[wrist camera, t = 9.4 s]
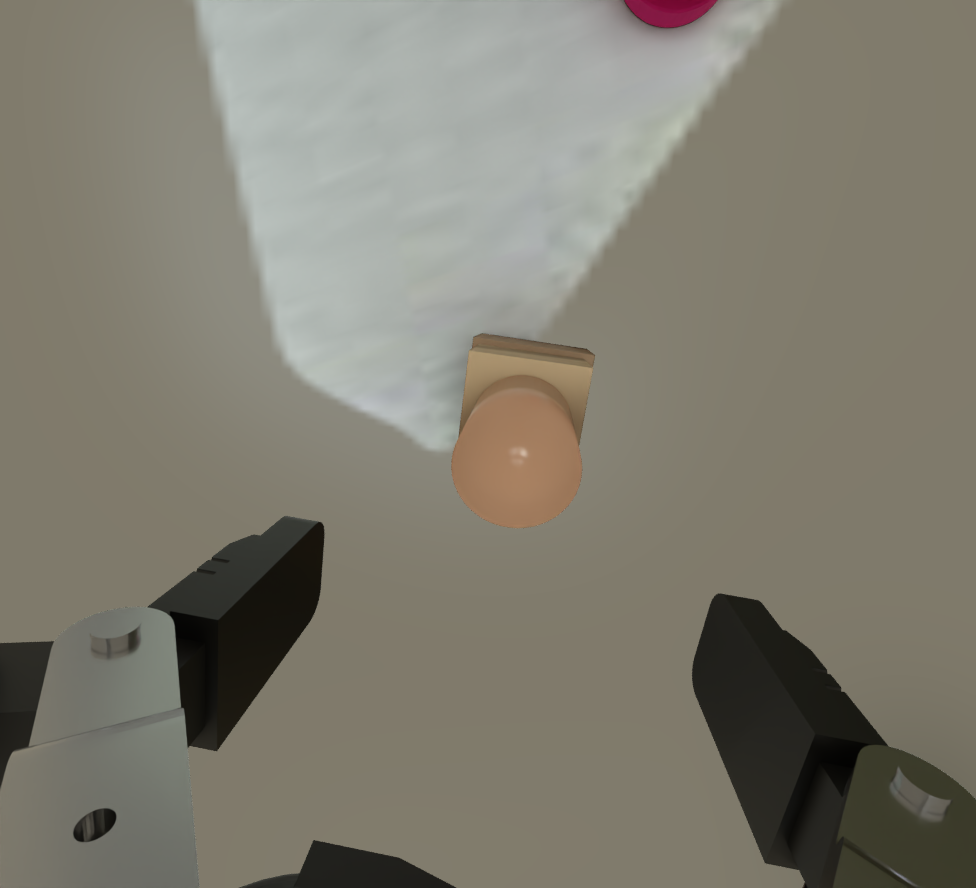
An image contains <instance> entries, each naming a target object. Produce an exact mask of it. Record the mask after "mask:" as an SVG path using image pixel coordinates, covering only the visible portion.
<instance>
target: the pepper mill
mask: <svg viewBox="0 0 976 888" xmlns="http://www.w3.org/2000/svg"><path fill="white" fill-rule="evenodd" d="M716 1H717V0H625V2H626V4H627V5H628V7H629V8H630V9H631V11H632V12H633V13H634V14H635V15H636V16H637V17H639V18H640V19H641V20H643V21H644V22H646V23H648V24H651V25H654V26H658V27H678V26H682V25H685V24H688V23H690V22H692V21H694V20H696V19H698V18H699V17H701V16H702V15H703V14H705V13H706V12H707V11H708V10H709V9H710V8H711V7H712V6H713V5H714V4H715V3H716Z"/></svg>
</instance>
